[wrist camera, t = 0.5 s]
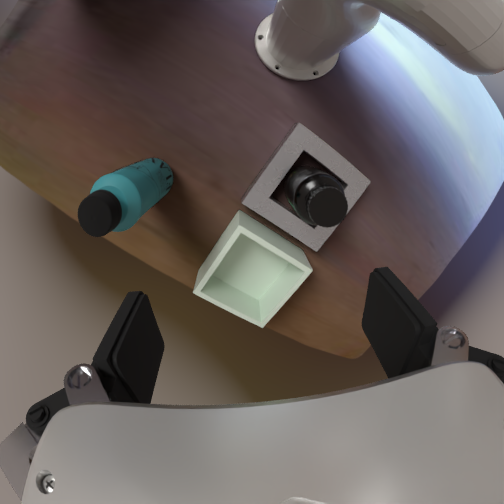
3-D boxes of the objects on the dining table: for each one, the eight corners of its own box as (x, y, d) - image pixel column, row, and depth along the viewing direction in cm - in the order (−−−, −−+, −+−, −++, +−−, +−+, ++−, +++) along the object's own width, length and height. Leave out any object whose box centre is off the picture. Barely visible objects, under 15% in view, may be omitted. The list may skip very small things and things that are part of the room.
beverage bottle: (183, 187, 40) (139, 237, 21) (146, 203, 40) (85, 260, 22) (167, 148, 37) (107, 167, 19) (130, 166, 37) (55, 200, 19)
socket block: (294, 123, 36) (299, 122, 33) (363, 177, 40) (371, 181, 37) (241, 198, 41) (241, 203, 38) (312, 244, 45) (316, 252, 42)
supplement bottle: (284, 209, 42) (300, 238, 31) (281, 165, 39) (299, 179, 28) (326, 206, 42) (354, 234, 31) (325, 163, 39) (357, 177, 28)
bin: (239, 209, 41) (239, 224, 35) (302, 250, 45) (312, 270, 39) (198, 269, 46) (192, 292, 39) (259, 302, 49) (262, 327, 43)
